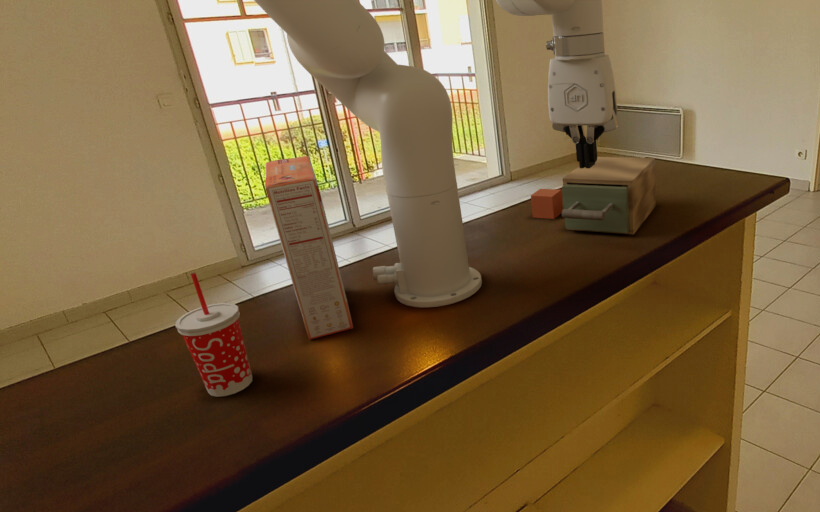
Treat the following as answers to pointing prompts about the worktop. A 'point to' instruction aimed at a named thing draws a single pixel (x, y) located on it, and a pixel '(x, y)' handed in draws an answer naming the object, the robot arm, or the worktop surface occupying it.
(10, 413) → the worktop surface
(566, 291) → the worktop surface
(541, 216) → the block
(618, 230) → the drawer
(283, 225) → the cracker box
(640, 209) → the cabinet
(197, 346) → the beverage cup
